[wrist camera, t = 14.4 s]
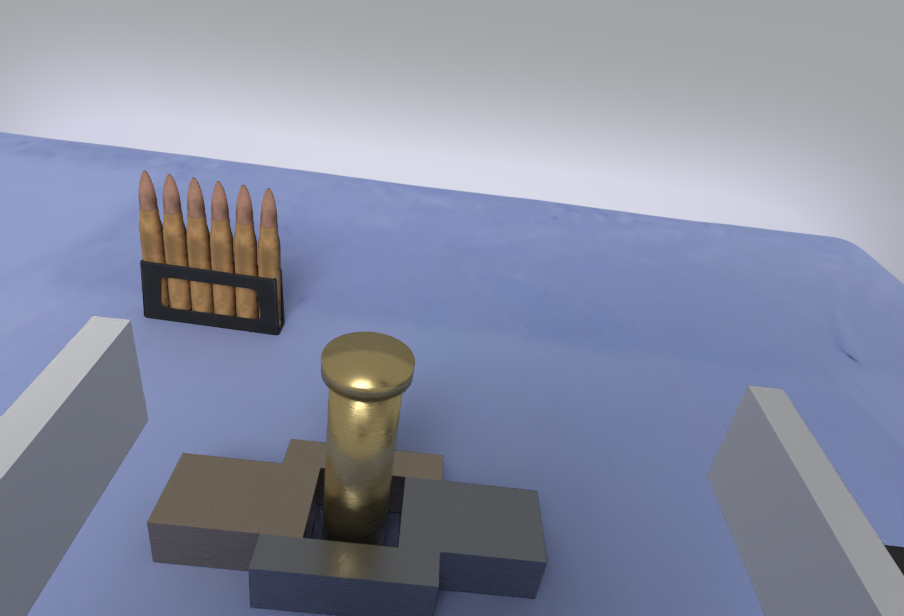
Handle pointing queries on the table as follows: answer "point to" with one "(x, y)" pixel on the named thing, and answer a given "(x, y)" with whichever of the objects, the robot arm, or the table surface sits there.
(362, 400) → the link pin
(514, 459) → the table surface
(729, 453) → the robot arm
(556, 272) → the table surface
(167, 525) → the chain joint
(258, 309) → the ammunition clip
